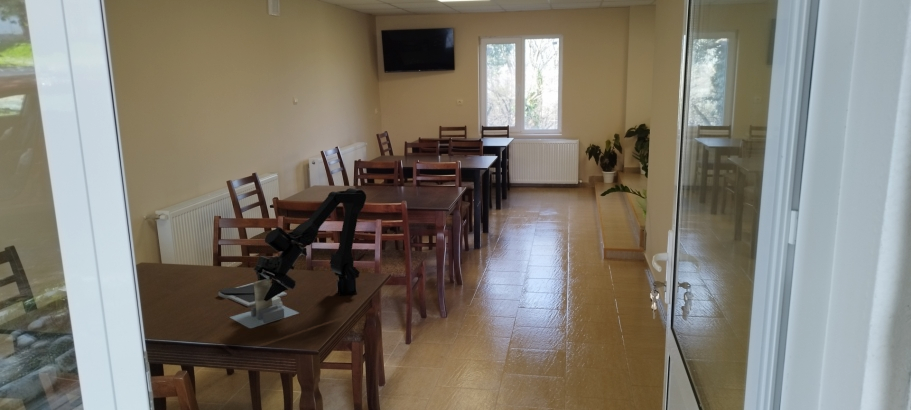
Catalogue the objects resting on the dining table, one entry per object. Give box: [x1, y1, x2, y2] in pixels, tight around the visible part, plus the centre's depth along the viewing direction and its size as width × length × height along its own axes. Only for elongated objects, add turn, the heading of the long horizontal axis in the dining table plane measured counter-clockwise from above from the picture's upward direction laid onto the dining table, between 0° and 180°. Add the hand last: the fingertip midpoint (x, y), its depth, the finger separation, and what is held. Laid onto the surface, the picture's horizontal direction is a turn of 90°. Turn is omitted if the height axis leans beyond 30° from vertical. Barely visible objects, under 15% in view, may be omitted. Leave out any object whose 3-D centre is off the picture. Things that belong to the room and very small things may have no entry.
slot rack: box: [229, 305, 299, 329], centre depth 203 cm, size 18×14×4 cm
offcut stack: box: [272, 296, 284, 307], centre depth 210 cm, size 5×4×3 cm
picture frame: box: [218, 282, 288, 308], centre depth 223 cm, size 16×3×21 cm
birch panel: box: [253, 279, 272, 316], centre depth 202 cm, size 5×2×12 cm, turn 136°
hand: (259, 298), depth 201 cm, fingers open, 7 cm apart
